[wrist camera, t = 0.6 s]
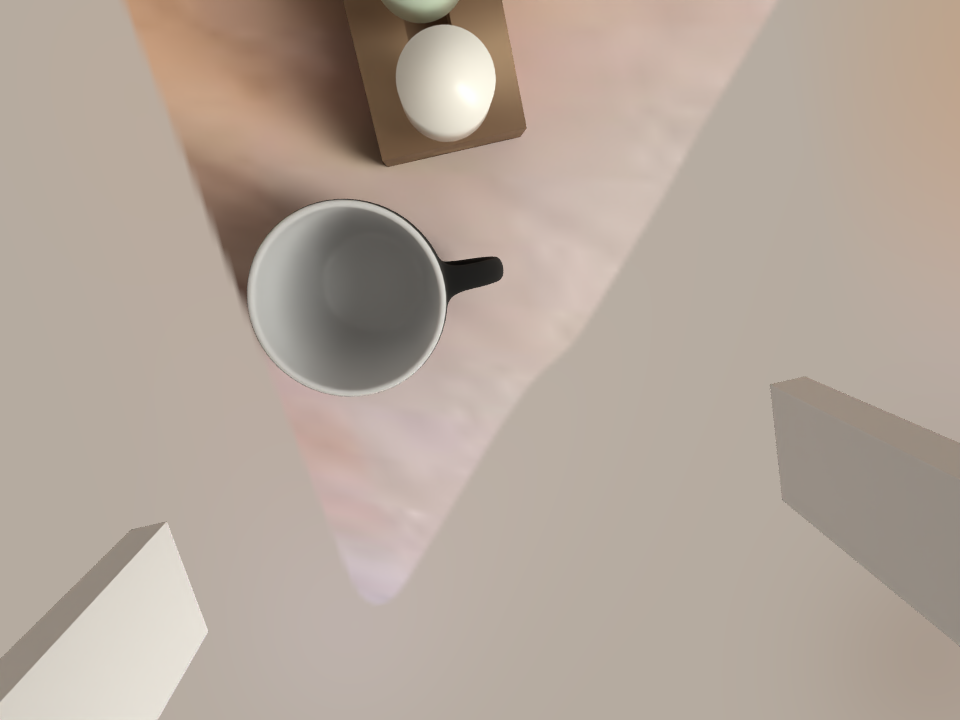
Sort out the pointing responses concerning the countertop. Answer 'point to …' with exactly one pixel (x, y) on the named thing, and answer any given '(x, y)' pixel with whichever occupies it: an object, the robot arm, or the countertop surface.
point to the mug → (353, 296)
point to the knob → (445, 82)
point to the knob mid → (420, 9)
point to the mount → (377, 57)
